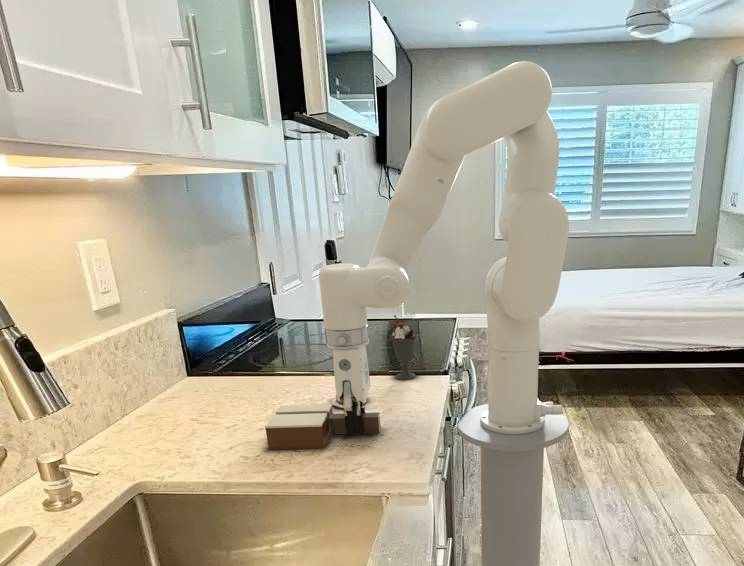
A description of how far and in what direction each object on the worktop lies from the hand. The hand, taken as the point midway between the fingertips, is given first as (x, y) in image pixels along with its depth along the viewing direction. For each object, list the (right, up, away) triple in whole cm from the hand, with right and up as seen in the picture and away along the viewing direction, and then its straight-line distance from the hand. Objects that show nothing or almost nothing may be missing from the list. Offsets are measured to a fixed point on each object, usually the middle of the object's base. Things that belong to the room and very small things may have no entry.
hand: (356, 430), depth 108 cm
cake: (-10, -2, -3) cm, 11 cm away
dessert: (-4, +5, +15) cm, 17 cm away
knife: (-6, 0, 0) cm, 5 cm away
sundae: (+7, +12, +31) cm, 34 cm away
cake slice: (-10, 0, +3) cm, 10 cm away
